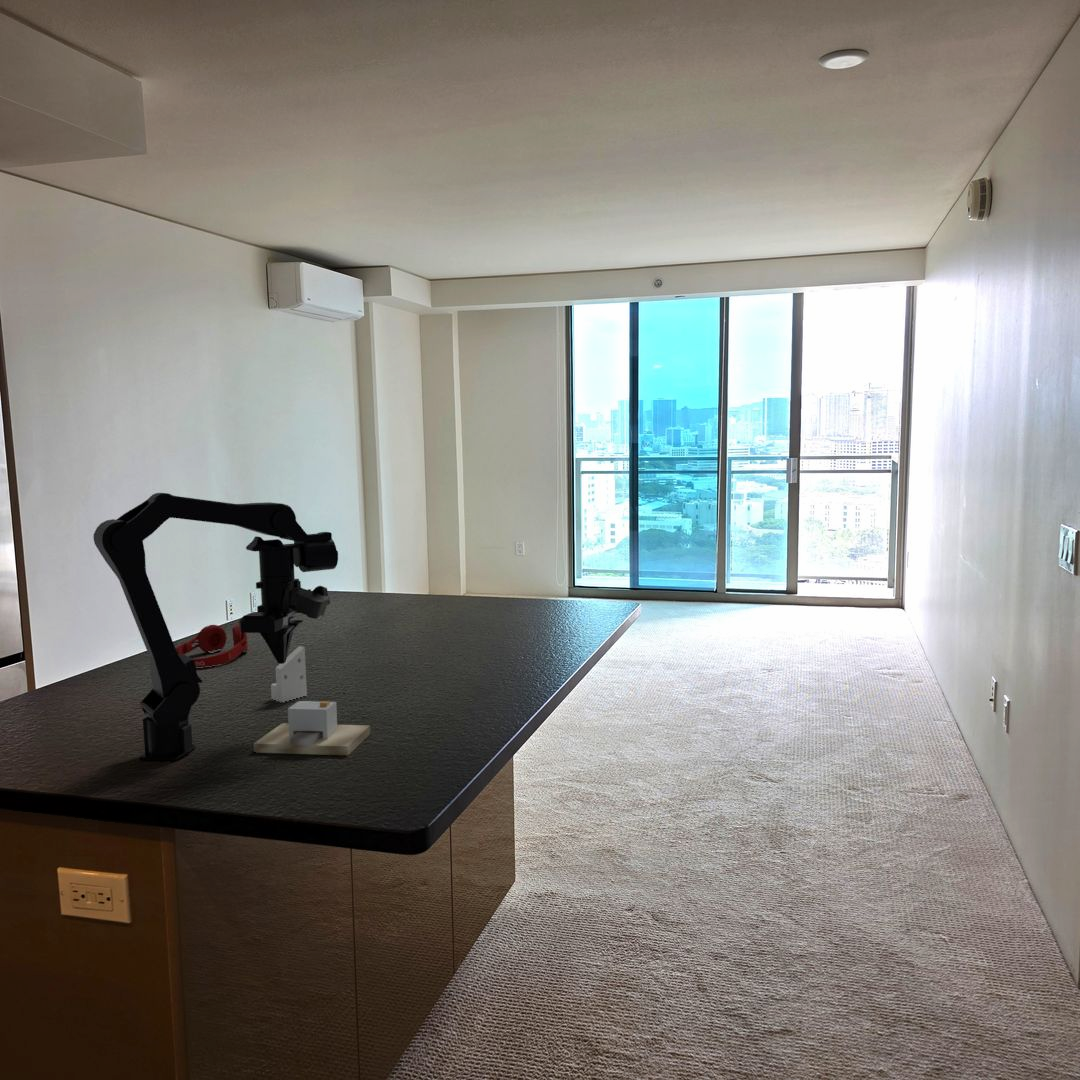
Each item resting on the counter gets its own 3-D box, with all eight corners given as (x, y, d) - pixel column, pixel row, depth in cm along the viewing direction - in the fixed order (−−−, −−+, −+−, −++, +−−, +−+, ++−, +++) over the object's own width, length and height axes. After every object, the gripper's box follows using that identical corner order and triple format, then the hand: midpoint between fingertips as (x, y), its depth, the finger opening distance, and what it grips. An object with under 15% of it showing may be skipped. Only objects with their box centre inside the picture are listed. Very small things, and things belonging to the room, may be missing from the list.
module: (289, 738, 150) (287, 705, 150) (299, 729, 155) (298, 697, 154) (327, 739, 149) (326, 706, 149) (337, 730, 154) (336, 698, 153)
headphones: (208, 647, 228) (160, 678, 209) (204, 620, 226) (156, 649, 207) (262, 648, 225) (218, 680, 206) (258, 621, 223) (214, 651, 204)
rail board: (254, 752, 148) (253, 737, 148) (282, 731, 159) (281, 717, 159) (347, 755, 146) (347, 740, 145) (370, 733, 156) (369, 719, 156)
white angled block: (324, 679, 185) (304, 647, 181) (289, 713, 179) (268, 680, 175) (313, 676, 187) (293, 644, 183) (278, 710, 181) (257, 678, 177)
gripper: (299, 583, 147) (304, 677, 148) (341, 567, 165) (344, 651, 167) (235, 583, 148) (240, 676, 150) (283, 567, 167) (287, 651, 168)
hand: (281, 663), depth 159 cm, fingers closed
